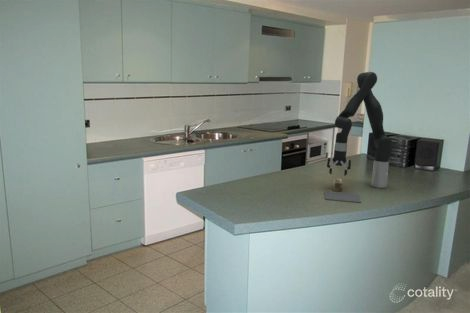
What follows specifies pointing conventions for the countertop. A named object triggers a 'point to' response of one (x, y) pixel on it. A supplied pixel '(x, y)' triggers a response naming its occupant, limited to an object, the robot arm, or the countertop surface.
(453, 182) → the countertop surface
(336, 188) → the maple bar
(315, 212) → the countertop surface
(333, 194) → the mat
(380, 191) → the countertop surface
